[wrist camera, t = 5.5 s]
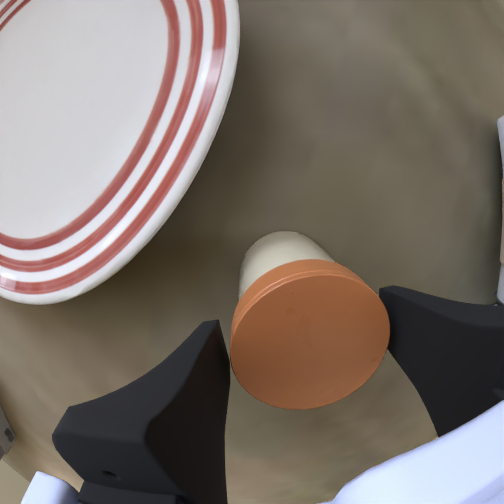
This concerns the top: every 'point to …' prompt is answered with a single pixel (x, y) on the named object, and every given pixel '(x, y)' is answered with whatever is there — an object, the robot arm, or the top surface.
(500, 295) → the coffee cup
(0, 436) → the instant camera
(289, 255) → the jar
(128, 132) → the dinner plate
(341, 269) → the lid
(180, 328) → the top surface
